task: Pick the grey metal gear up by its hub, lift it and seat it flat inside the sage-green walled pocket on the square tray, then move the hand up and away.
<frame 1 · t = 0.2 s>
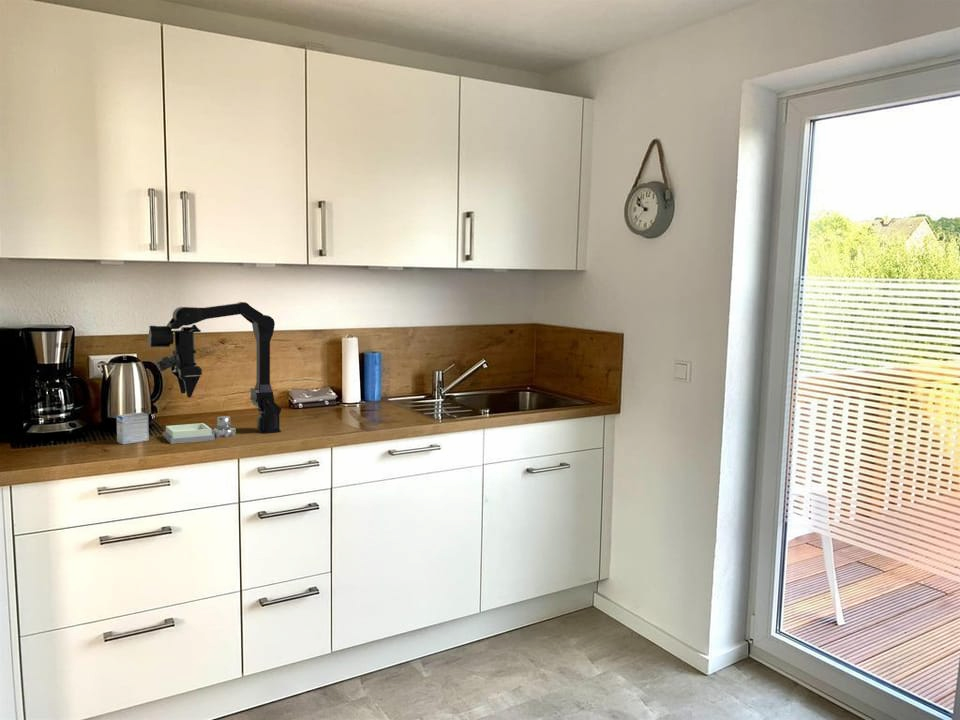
hand: (186, 395, 225), 14 cm above the worktop, tool pointing down, fingers open, 9 cm apart
medicine box: (133, 442, 219), on the worktop
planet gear: (224, 435, 233), on the worktop
square tray: (188, 438, 227), on the worktop
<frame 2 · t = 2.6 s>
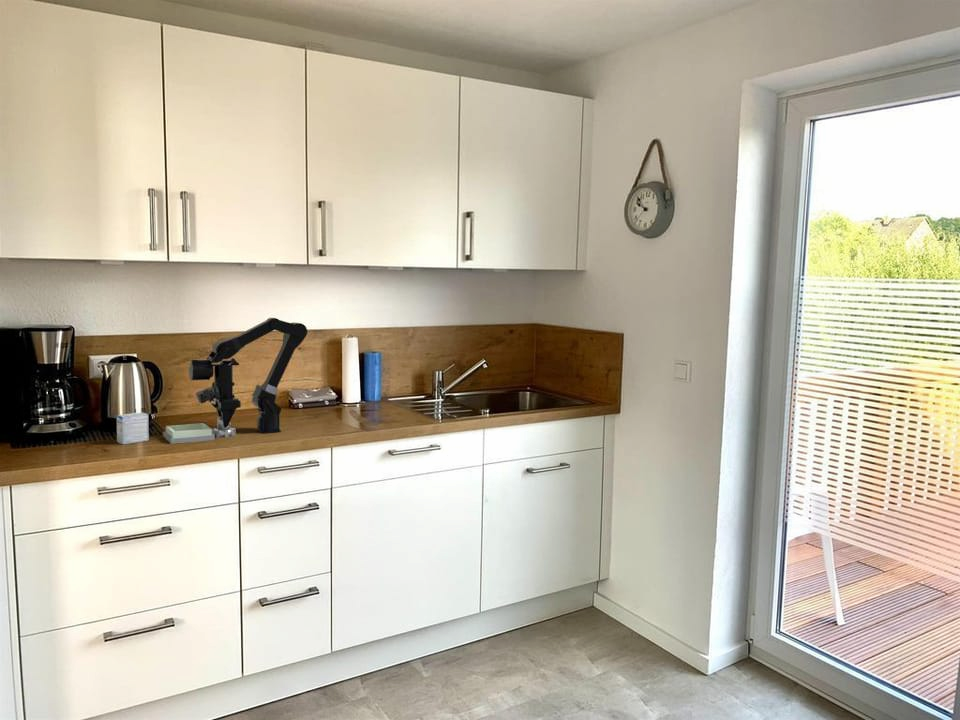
hand: (223, 426, 233), 3 cm above the worktop, tool pointing down, fingers closed on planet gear, 4 cm apart
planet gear: (224, 435, 233), on the worktop, touching gripper
everything else where it was.
when the fingers open (6 cm above the worktop, at t = 8.0 s): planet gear drops 1 cm, resting on square tray.
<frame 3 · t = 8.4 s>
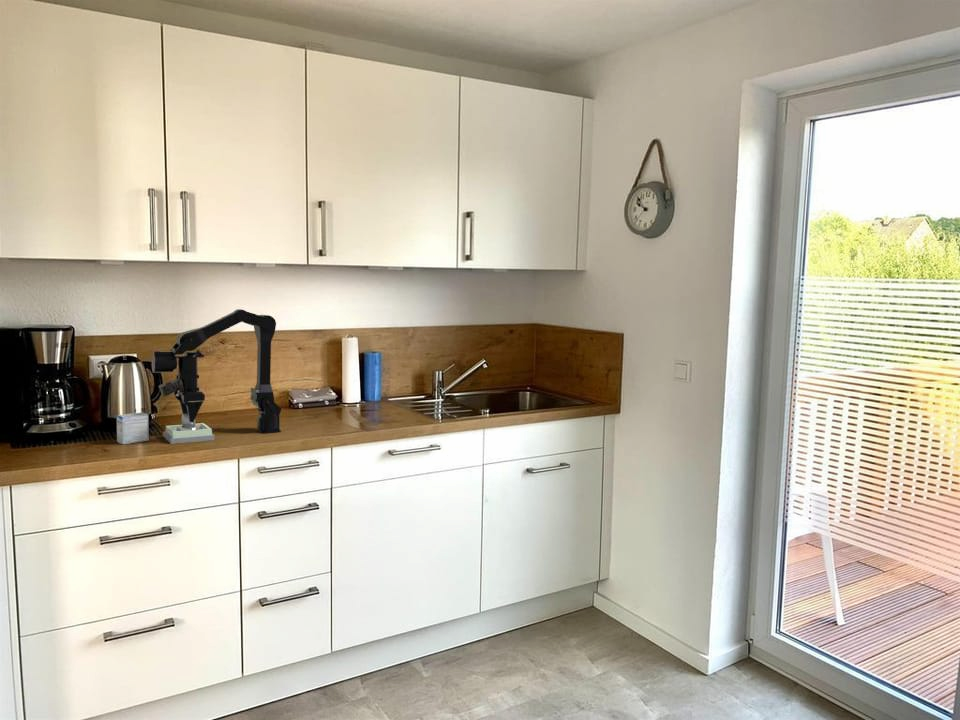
hand: (188, 419, 226), 6 cm above the worktop, tool pointing down, fingers open, 9 cm apart
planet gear: (188, 432, 227), point 2 cm above the worktop, touching square tray
everything else where it was.
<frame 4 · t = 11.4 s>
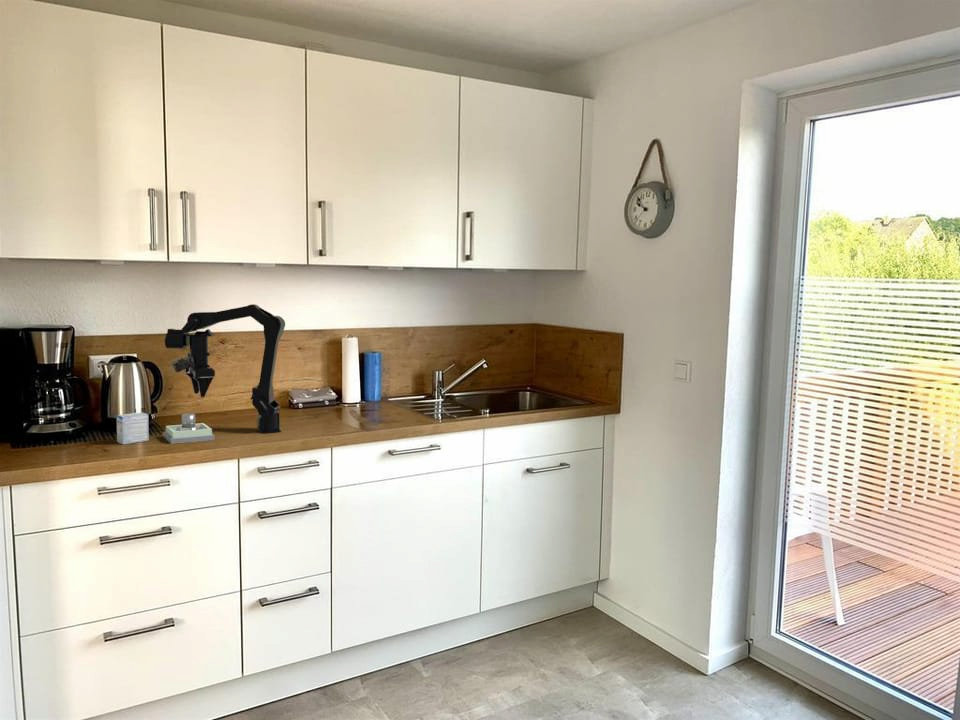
hand: (199, 395, 239), 12 cm above the worktop, tool pointing down, fingers open, 9 cm apart
nothing on the worktop moved.
at the end: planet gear 0.0 cm off-centre on the square tray, point 1.7 cm above the square tray's base; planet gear tilted 0°; the gripper is holding nothing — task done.
